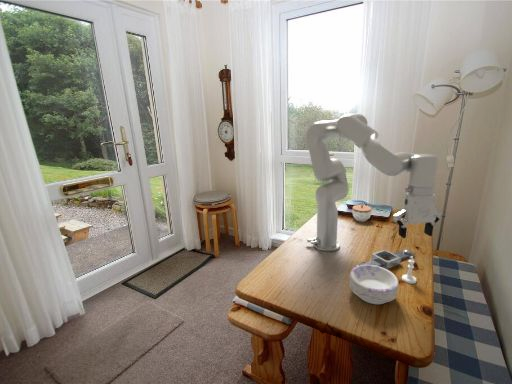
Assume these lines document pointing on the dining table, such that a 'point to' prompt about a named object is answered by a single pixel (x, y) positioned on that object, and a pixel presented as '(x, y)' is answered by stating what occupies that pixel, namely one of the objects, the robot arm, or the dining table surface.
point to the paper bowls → (374, 284)
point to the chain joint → (394, 258)
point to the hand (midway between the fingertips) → (415, 235)
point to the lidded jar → (361, 212)
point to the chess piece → (409, 273)
